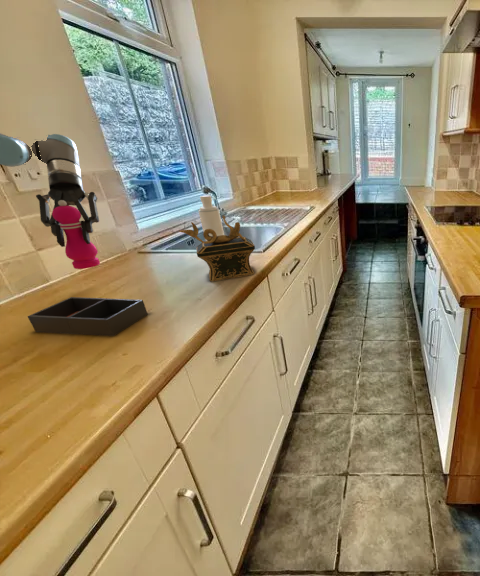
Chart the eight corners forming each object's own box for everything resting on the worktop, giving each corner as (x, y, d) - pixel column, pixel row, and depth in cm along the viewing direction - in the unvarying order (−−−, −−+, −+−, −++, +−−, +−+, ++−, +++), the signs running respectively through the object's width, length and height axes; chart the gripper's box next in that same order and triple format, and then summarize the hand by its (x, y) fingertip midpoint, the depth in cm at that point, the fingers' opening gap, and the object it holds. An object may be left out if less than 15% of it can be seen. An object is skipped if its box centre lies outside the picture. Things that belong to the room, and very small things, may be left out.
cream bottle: (221, 261, 120) (205, 193, 110) (206, 259, 122) (189, 192, 112) (232, 255, 126) (218, 190, 116) (218, 254, 128) (203, 190, 117)
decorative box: (255, 266, 115) (245, 211, 107) (260, 275, 107) (249, 216, 99) (192, 276, 106) (176, 217, 98) (192, 286, 98) (175, 223, 90)
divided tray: (36, 333, 74) (27, 316, 72) (78, 312, 83) (71, 296, 82) (114, 337, 72) (106, 320, 71) (148, 315, 82) (142, 299, 80)
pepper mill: (71, 265, 99) (43, 200, 91) (100, 260, 104) (76, 197, 96) (72, 271, 95) (43, 203, 86) (103, 265, 99) (78, 200, 91)
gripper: (106, 185, 107) (117, 244, 101) (32, 189, 98) (38, 254, 92) (98, 169, 100) (108, 232, 94) (17, 171, 92) (23, 240, 86)
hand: (74, 242), depth 93 cm, fingers closed on pepper mill, 5 cm apart
